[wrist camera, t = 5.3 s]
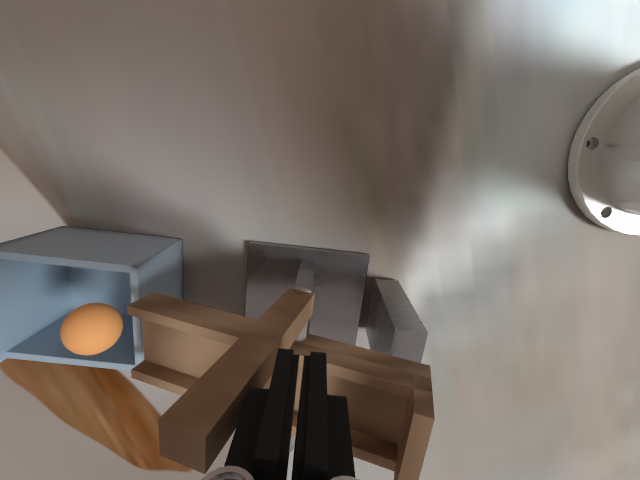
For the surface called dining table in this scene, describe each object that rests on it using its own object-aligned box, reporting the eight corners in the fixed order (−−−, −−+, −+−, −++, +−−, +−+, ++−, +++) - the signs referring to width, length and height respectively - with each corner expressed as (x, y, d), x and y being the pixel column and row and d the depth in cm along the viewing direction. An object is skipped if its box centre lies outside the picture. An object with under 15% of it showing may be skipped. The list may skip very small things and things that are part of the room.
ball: (95, 290, 21) (133, 300, 20) (98, 331, 22) (135, 342, 21) (42, 311, 18) (85, 324, 17) (49, 358, 19) (90, 372, 18)
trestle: (401, 257, 26) (440, 311, 17) (383, 349, 28) (410, 437, 20) (250, 240, 26) (211, 286, 17) (245, 334, 28) (209, 417, 19)
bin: (182, 239, 26) (98, 289, 16) (183, 323, 28) (109, 411, 18) (62, 225, 26) (-94, 269, 16) (72, 311, 28) (-60, 394, 18)
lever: (441, 318, 15) (482, 544, 6) (402, 479, 18) (391, 795, 9) (152, 252, 19) (-74, 329, 10) (157, 391, 22) (-17, 546, 13)
